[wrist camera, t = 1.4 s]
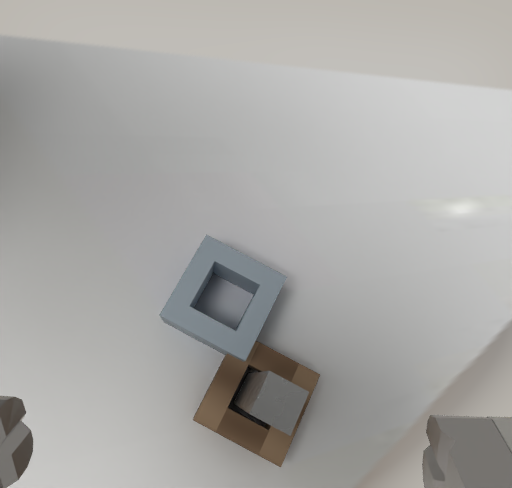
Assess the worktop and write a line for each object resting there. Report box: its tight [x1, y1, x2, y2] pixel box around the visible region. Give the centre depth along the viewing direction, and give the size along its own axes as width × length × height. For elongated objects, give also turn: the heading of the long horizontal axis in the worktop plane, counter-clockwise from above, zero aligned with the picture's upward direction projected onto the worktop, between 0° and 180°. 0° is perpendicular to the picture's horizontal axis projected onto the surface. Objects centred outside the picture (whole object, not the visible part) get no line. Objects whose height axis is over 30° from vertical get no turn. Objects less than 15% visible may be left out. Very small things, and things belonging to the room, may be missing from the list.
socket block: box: [193, 341, 320, 467], centre depth 42 cm, size 9×9×3 cm
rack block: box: [160, 235, 287, 362], centre depth 43 cm, size 9×9×5 cm
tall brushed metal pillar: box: [234, 371, 309, 436], centre depth 36 cm, size 3×3×14 cm
